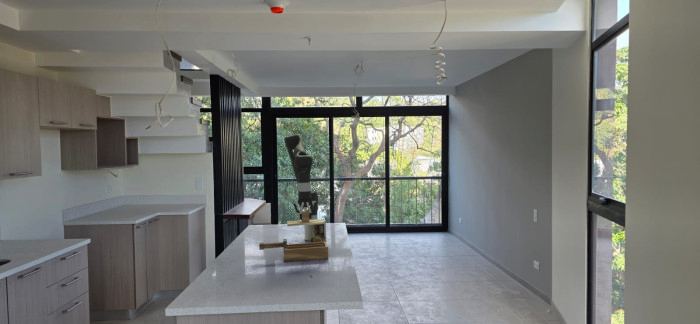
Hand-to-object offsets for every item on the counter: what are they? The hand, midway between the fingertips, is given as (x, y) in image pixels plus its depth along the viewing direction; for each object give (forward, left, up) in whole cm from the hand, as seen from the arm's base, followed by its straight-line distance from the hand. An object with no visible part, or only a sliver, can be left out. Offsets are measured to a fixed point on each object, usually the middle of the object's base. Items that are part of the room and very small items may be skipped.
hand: (305, 219), depth 224 cm
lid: (0, 0, -2) cm, 2 cm away
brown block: (0, -20, -15) cm, 25 cm away
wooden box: (0, 0, -22) cm, 22 cm away
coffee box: (-19, +9, -23) cm, 31 cm away
